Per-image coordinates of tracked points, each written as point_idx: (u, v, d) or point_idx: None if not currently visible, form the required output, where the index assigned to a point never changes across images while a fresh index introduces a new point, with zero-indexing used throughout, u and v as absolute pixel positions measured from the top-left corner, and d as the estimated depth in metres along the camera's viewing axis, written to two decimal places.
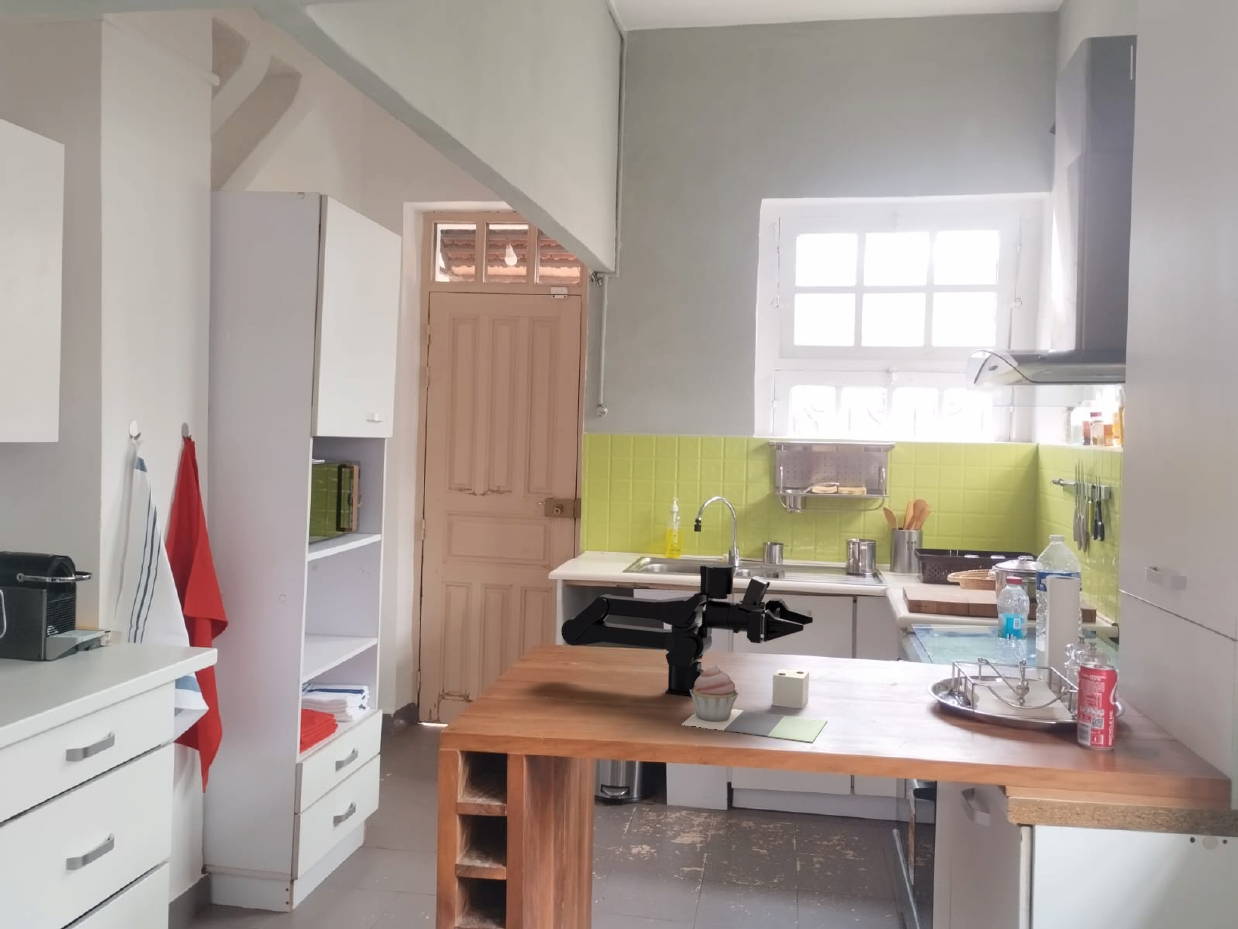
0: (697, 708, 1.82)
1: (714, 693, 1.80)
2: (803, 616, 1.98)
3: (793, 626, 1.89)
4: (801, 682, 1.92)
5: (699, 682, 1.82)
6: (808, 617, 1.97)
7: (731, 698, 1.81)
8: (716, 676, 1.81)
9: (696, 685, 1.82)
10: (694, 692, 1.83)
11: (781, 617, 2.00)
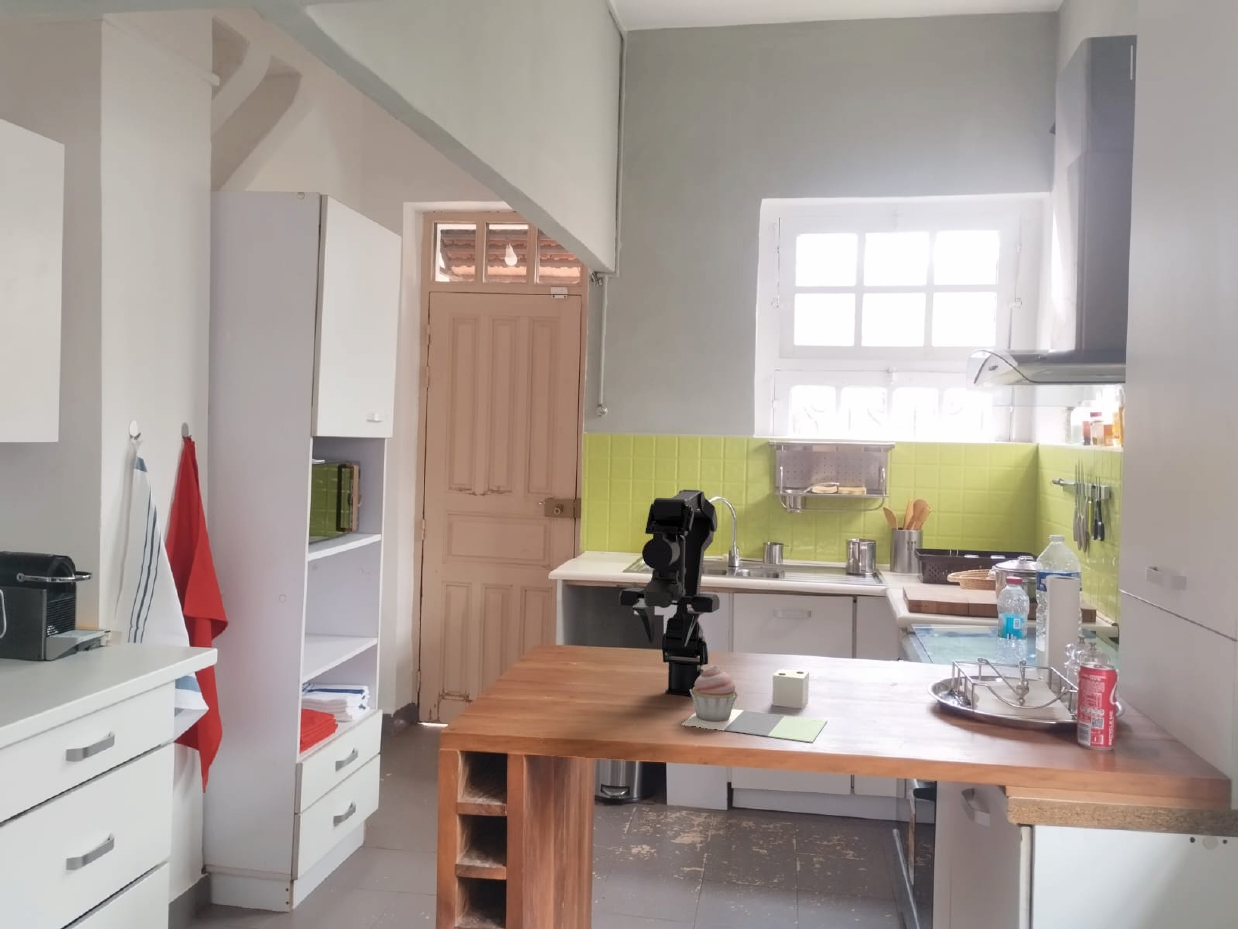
0: (697, 708, 1.82)
1: (714, 693, 1.80)
2: None
3: None
4: (801, 682, 1.92)
5: (699, 682, 1.82)
6: (682, 642, 1.85)
7: (731, 698, 1.81)
8: (716, 676, 1.81)
9: (696, 685, 1.82)
10: (694, 692, 1.83)
11: None
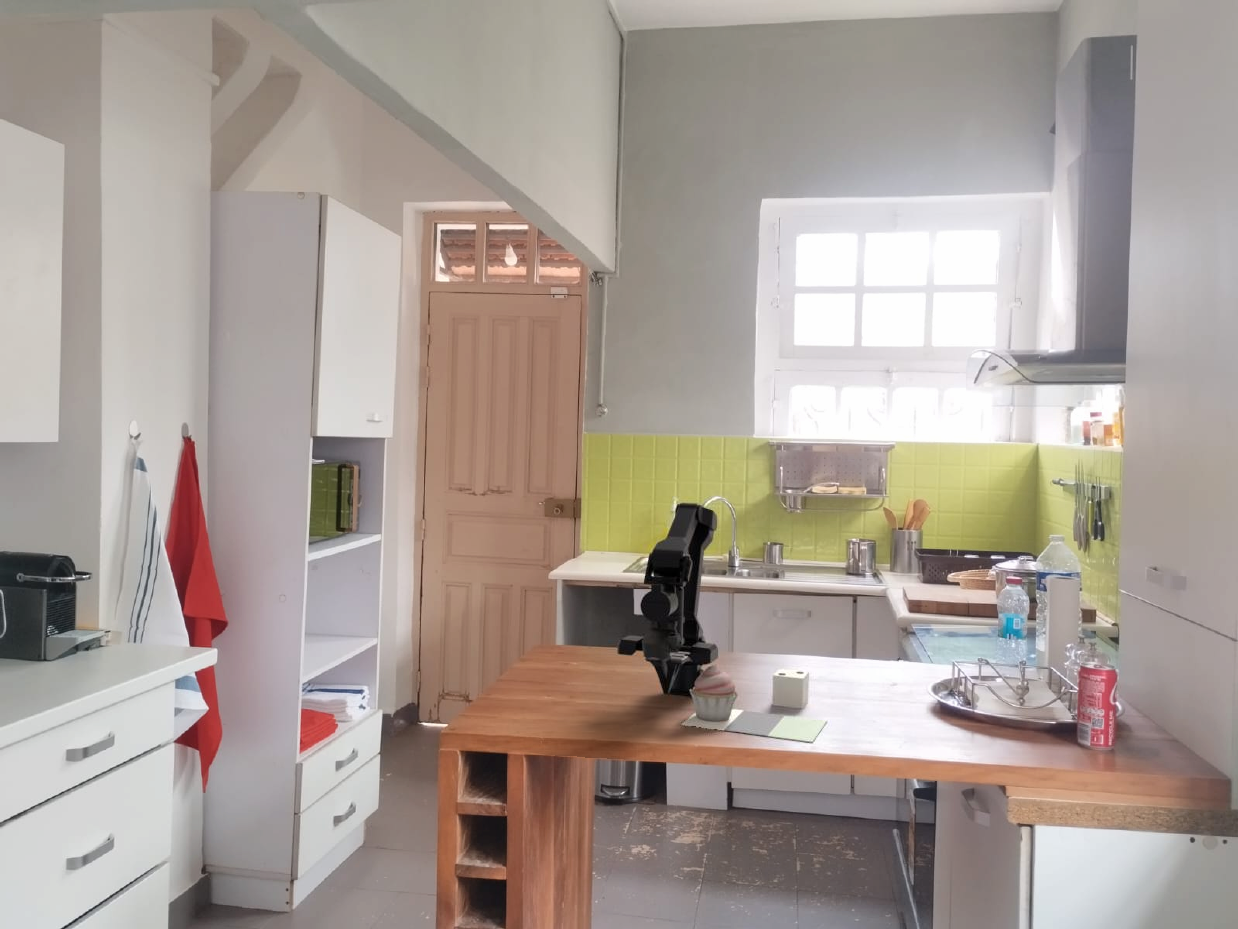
0: (697, 708, 1.82)
1: (714, 693, 1.80)
2: None
3: None
4: (801, 682, 1.92)
5: (699, 682, 1.82)
6: None
7: (731, 698, 1.81)
8: (716, 676, 1.81)
9: (696, 685, 1.82)
10: (694, 692, 1.83)
11: None
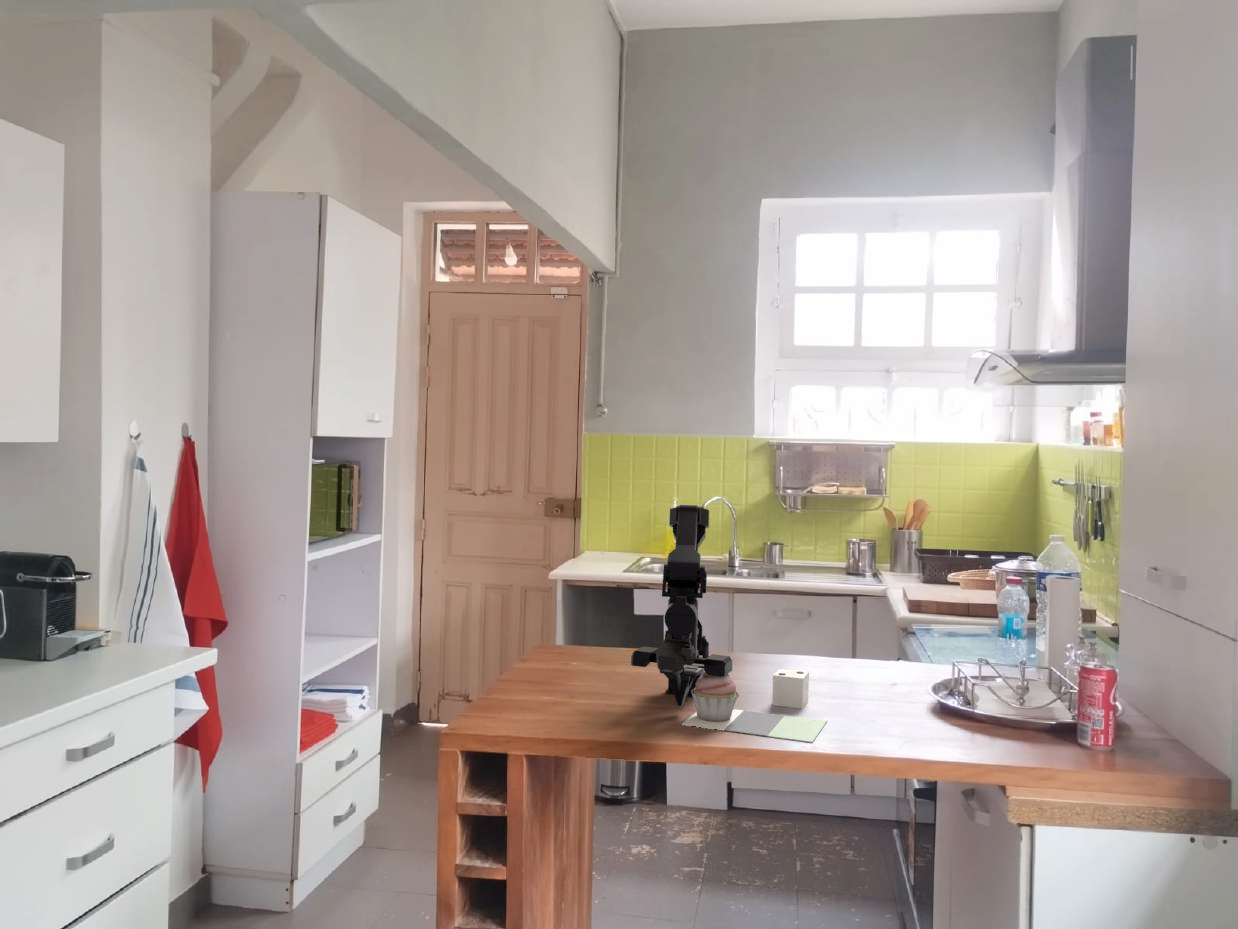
0: (698, 708, 1.82)
1: (715, 693, 1.80)
2: None
3: None
4: (801, 682, 1.92)
5: (700, 682, 1.82)
6: None
7: (732, 698, 1.81)
8: (717, 676, 1.81)
9: (698, 685, 1.82)
10: (695, 692, 1.83)
11: None
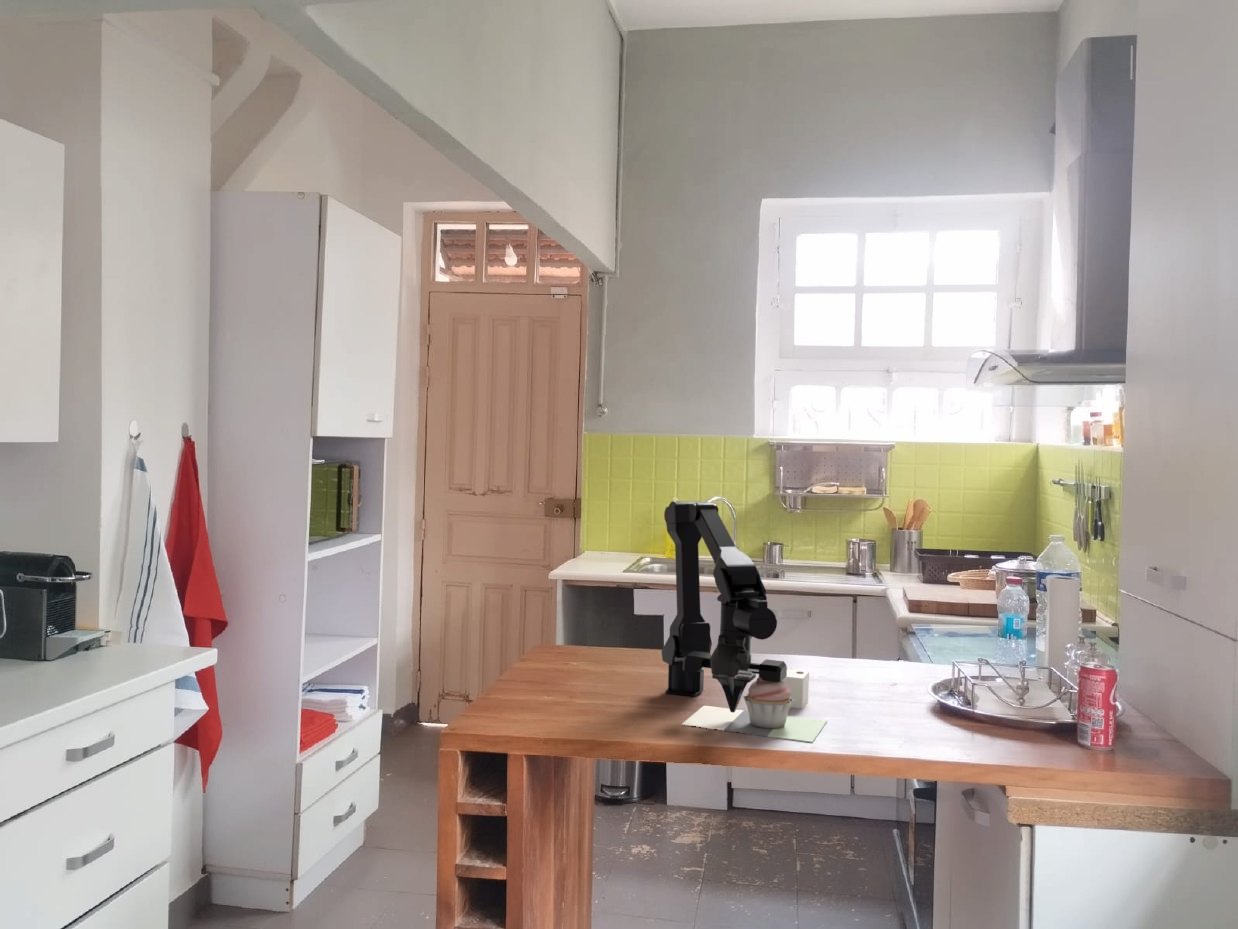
0: (752, 715, 1.78)
1: (770, 700, 1.76)
2: None
3: None
4: (801, 682, 1.92)
5: (754, 689, 1.78)
6: (731, 708, 1.82)
7: (787, 705, 1.77)
8: (772, 683, 1.77)
9: (751, 692, 1.78)
10: (749, 699, 1.79)
11: None
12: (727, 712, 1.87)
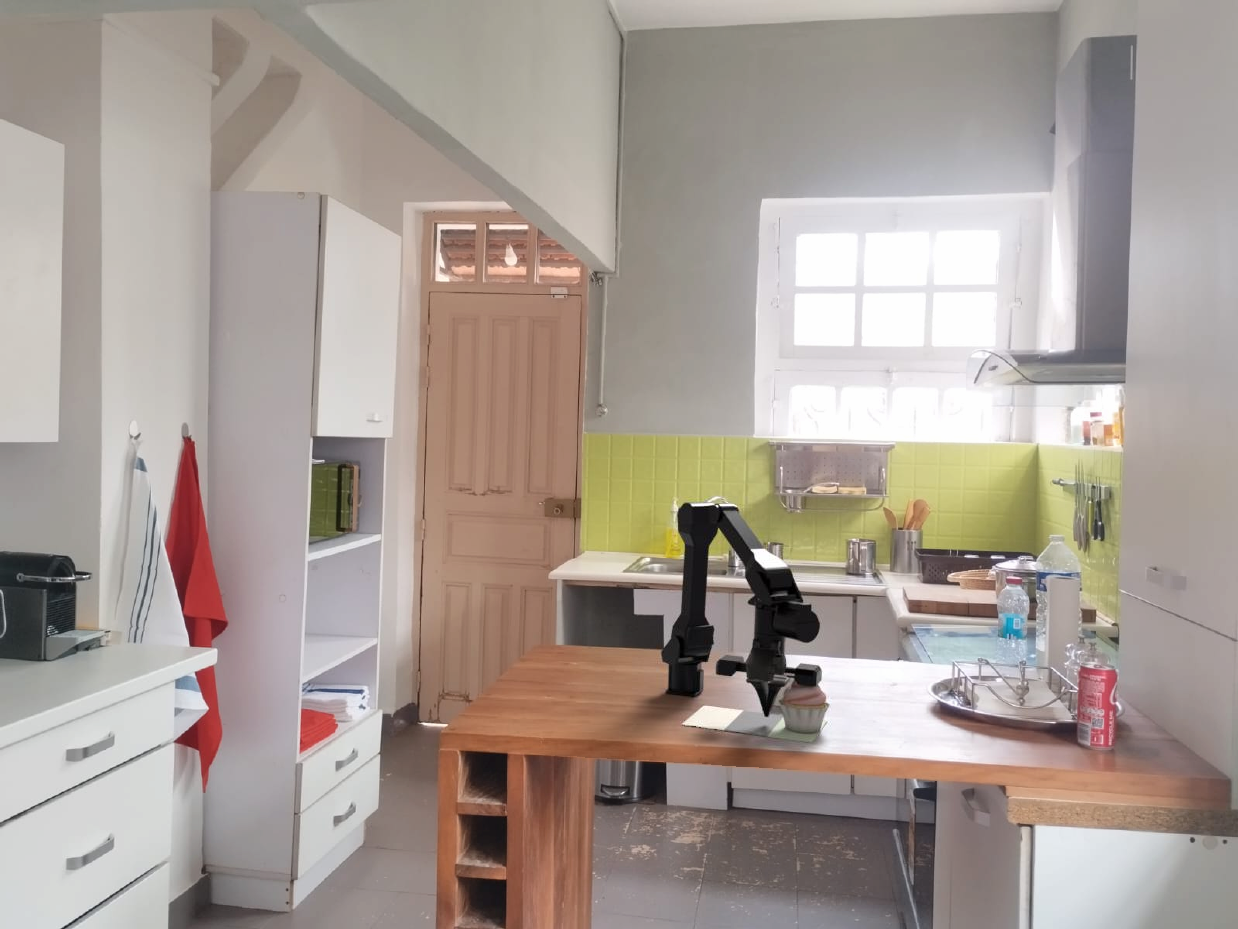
0: (788, 719, 1.76)
1: (807, 704, 1.74)
2: None
3: None
4: None
5: (790, 693, 1.76)
6: (766, 712, 1.80)
7: (824, 709, 1.74)
8: (808, 687, 1.75)
9: (787, 696, 1.76)
10: (784, 703, 1.76)
11: None
12: (727, 712, 1.87)
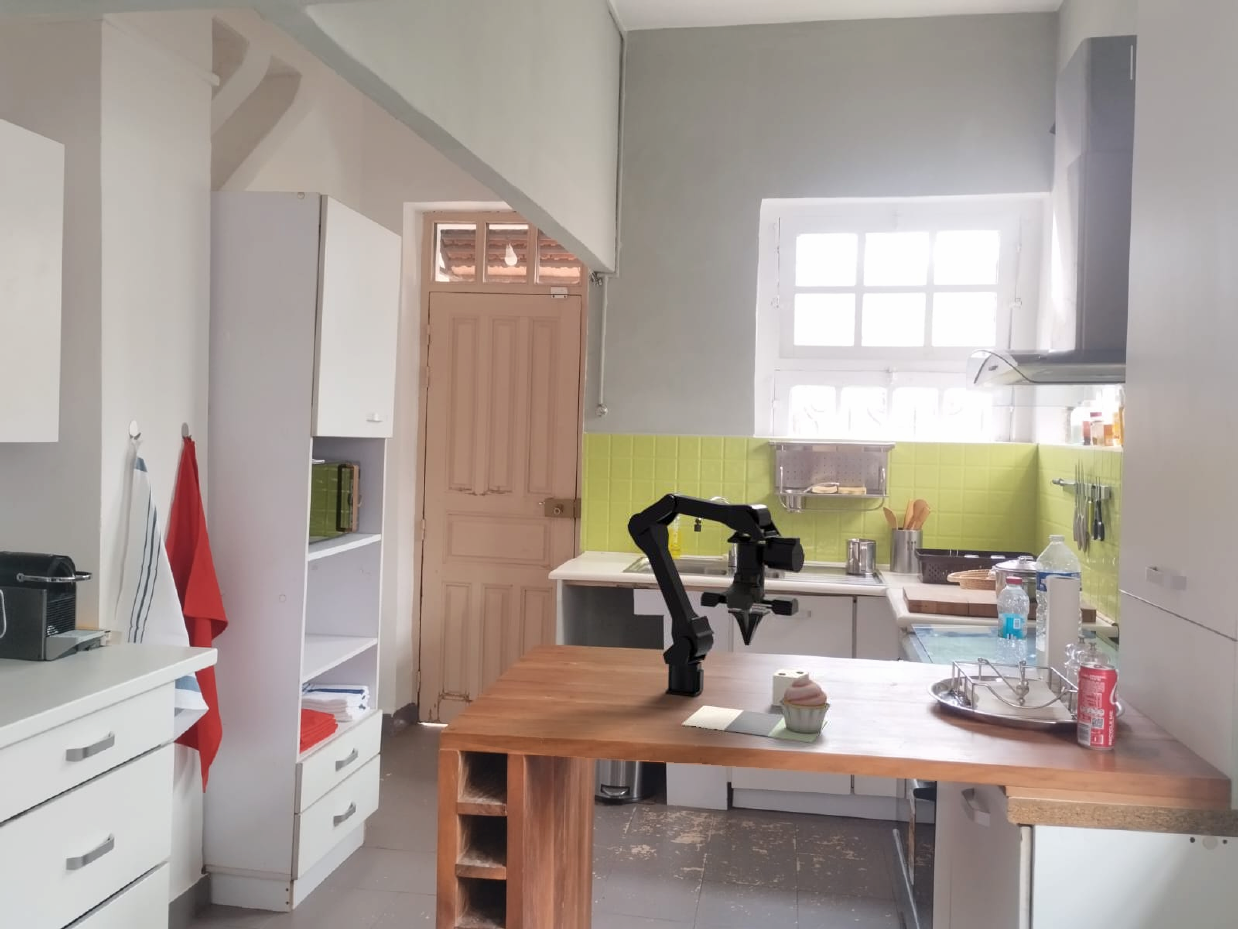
0: (789, 719, 1.76)
1: (807, 704, 1.74)
2: None
3: None
4: None
5: (790, 693, 1.76)
6: (746, 641, 1.94)
7: (824, 709, 1.74)
8: (808, 687, 1.75)
9: (787, 696, 1.76)
10: (785, 703, 1.76)
11: None
12: (727, 712, 1.87)
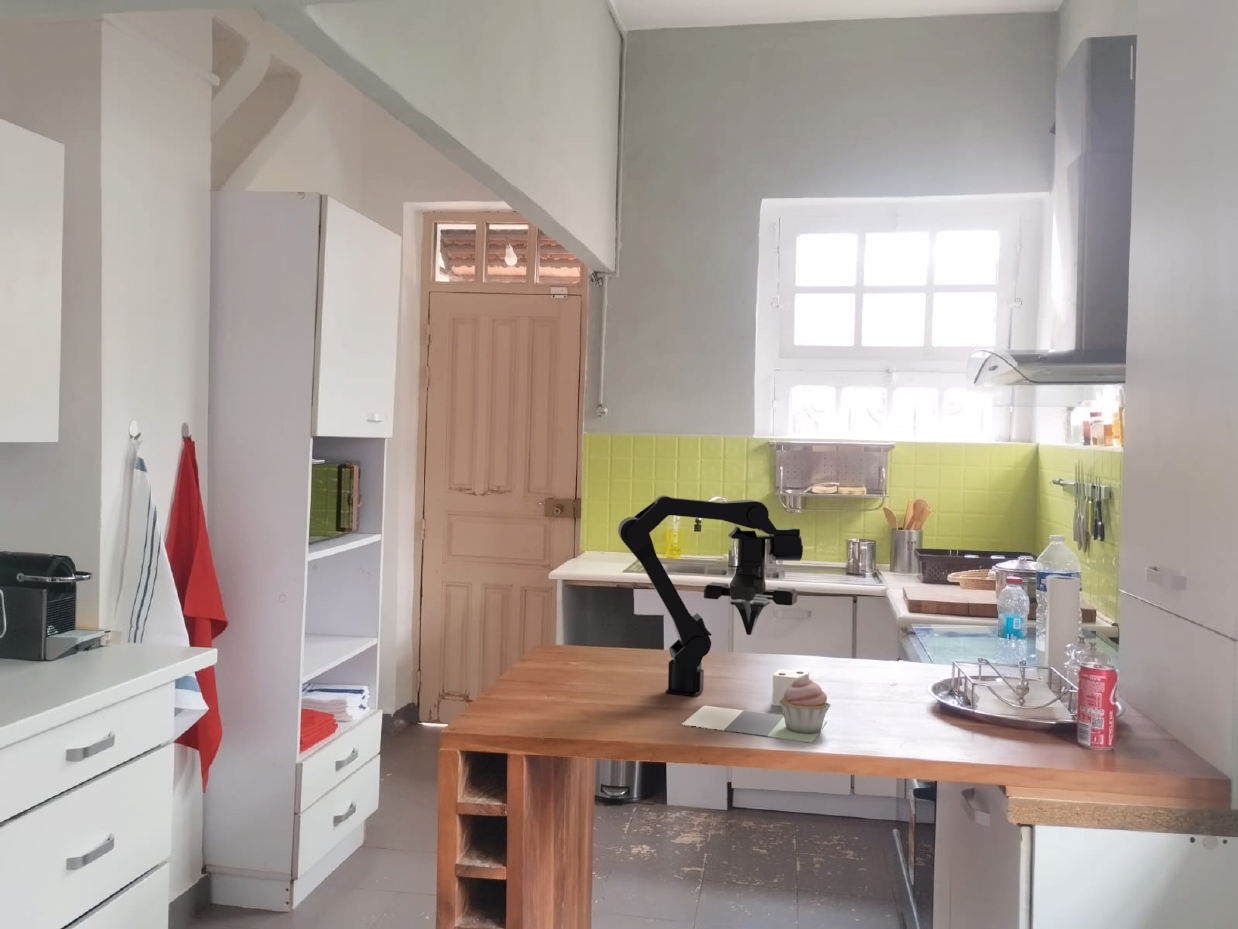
0: (789, 719, 1.76)
1: (807, 704, 1.74)
2: None
3: None
4: None
5: (790, 693, 1.76)
6: (748, 631, 2.03)
7: (824, 709, 1.74)
8: (808, 687, 1.75)
9: (787, 696, 1.76)
10: (785, 703, 1.76)
11: None
12: (727, 712, 1.87)
